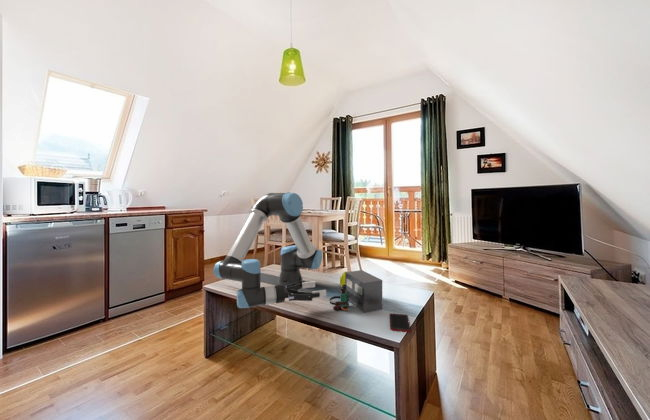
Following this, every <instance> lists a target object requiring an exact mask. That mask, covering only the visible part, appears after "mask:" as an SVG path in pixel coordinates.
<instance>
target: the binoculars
mask: <svg viewBox="0 0 650 420" xmlns="http://www.w3.org/2000/svg"><path fill="white" fill-rule="evenodd" d="M340 291H341V292H340V295H336V296H335V295H334V296H332V297H330V298H329V304H331V305H332V309H333V310H334V311H337V310H342V311H344V312H347V311H349V307H350V302H349V298H348V297H350V296H349V295H348V293H347V289H346V285H342V286H341V288H340ZM334 299H339V300H338V301H335V302H333V301H332V300H334ZM333 305H334V306H333Z"/></svg>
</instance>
